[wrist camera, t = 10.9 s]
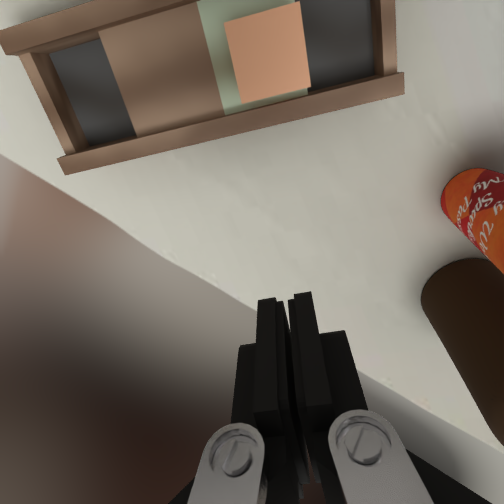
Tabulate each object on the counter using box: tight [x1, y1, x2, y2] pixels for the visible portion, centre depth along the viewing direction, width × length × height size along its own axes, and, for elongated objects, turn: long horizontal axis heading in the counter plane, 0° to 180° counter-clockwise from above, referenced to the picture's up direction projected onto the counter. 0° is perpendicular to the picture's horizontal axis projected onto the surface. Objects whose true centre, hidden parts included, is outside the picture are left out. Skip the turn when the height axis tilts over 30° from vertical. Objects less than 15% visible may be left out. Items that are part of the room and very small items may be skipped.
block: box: [224, 1, 311, 104], centre depth 25 cm, size 5×5×4 cm
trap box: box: [0, 0, 405, 175], centre depth 27 cm, size 11×29×4 cm, turn 103°
